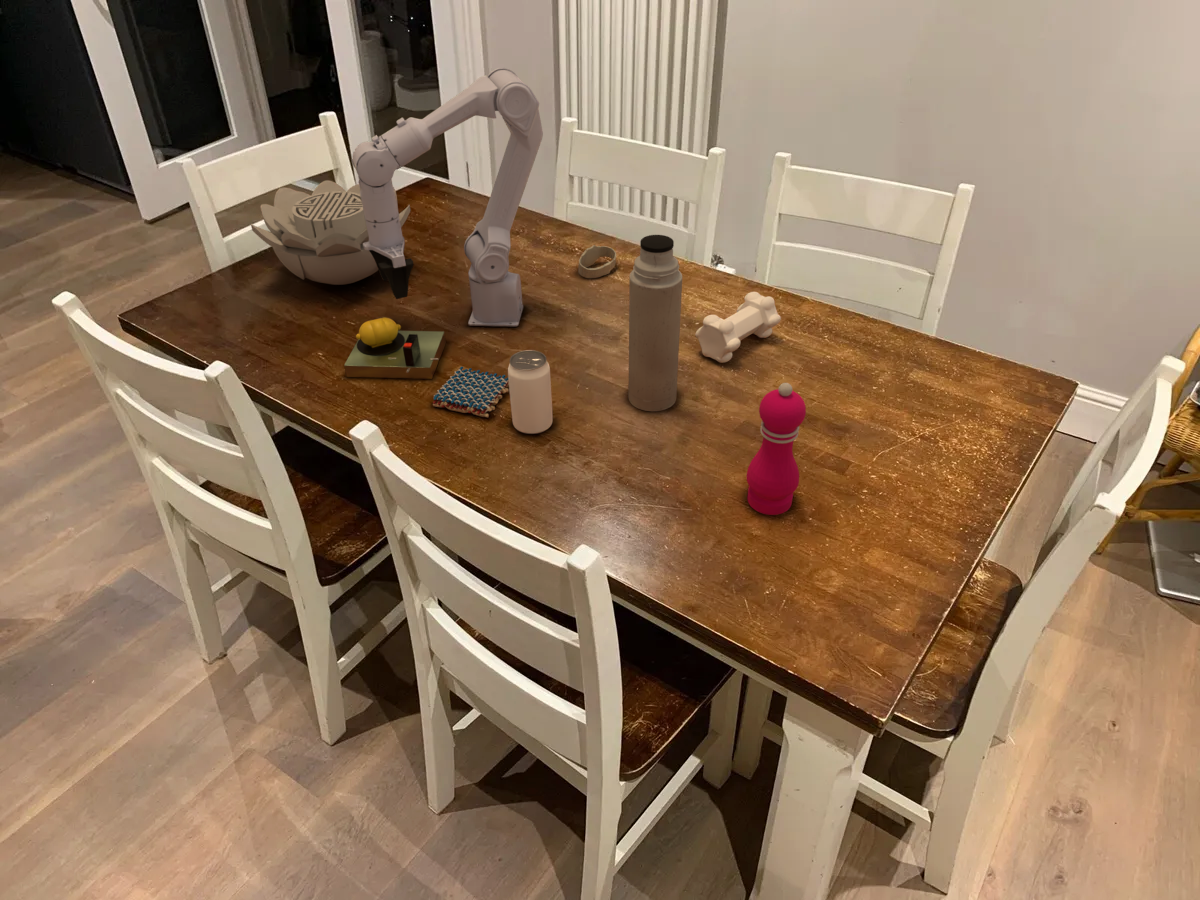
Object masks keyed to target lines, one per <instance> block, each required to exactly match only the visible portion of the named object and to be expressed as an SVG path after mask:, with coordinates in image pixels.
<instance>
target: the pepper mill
mask: <svg viewBox="0 0 1200 900" xmlns="http://www.w3.org/2000/svg"><path fill="white" fill-rule="evenodd" d="M806 410H807V407H806V403H805V400H804V399H803V398H802V396H801V395H800V394H798V393H797V392H796V391H794V390H793V386H792V384H790V383H789V382H782V383H781V384H780V385H778V388H776V389H773V390H770V391H769V392H767V393H766V394H765V395H764V396H763V397H762V399H761V401H760V403H759V408H758V414H759V418H760V419H761V422H760V429H759V431H760V435H761V436H762V442H761V445H760V448H759V449H758V450H757V452H756V454H755V455H754V456H753V457H752V459H751V461H750V463H749V465H748V467H747V471H746V482H747V485H748V489H747V496H746V497H747V503H748V504H749V506H750V507H751V508H752V509H753V510H754V511H756V512H758V513H760V514H763V515H766V516H767V515H768V516H777V515H781V514H784V513H786V512H787V511H788V510H790V509H791V507H792V504H793V499H794V498H793V497H794V492H796V491H797V489H798V487H799V485H800V470H799V466H798V464H797V461H796V459H795V457H794V453H793V447H794V442H795V441H796V440H797V438H798V436H799V431H800V425H802V424H803V422H804V420H805V417H806V415H807V414H806V413H807V411H806Z"/></svg>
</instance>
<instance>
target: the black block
mask: <svg viewBox="0 0 1200 900" xmlns="http://www.w3.org/2000/svg"><path fill="white" fill-rule="evenodd" d="M403 352H404V358H405V363H406V366H414V365H415V363H416V361H417V358H418V356H419V354H420V347H419V341H418V335H417V334H409V336H408V338H407V340H406V342H405V344H404V346H403Z"/></svg>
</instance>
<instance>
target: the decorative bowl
mask: <svg viewBox="0 0 1200 900" xmlns="http://www.w3.org/2000/svg"><path fill="white" fill-rule="evenodd" d="M395 195H396V200H397V201H398V197H397V191H396V190H395ZM398 205H399V204H398V202H397V206H398ZM398 207H399V206H398ZM260 211H261V215H262V218H263V221H264V224H265V226H266V228H267V229H268V230H267V229H264V228H261V227H258V226H256V225H254V224H253V223H250V228H251V231H252V232H253V233H254V234H255V235H256V236H257V237H259V239H261V240H262V241H263V242H264V243H266V244H268V245H269V247H271V248H272V249H273V252H274V254H275V256H276V257H277V259H278V260H279V261H280V262H281V263H282V264H283V266H284V267H285V268H286V269H287V270H288V271H289V272H290V273H292V274H293V275H295V276H296V277H298V278H299V279H301V280H305V279H307V280H310V281H312V282H316V283H321V284H327V285H333V286H334V285H335V286H337V285H338V286H340V285H341V286H342V285H349V284H353V283H356V282H359V281H361V280H365V279H366V278H368V277H370V276H372V275H373V274H375V273H377V272H379V270H378V267H377V264H376V262H375V260H374V258H373V256H372V254H371V253H370V251H369V250H365V249H364V247H363V243H365V242H368V241H369V237H368V231H367V226H366V221H365V216H364V211H363V206H362V201H361V196H360V187H359V183H358V184H354V185H352V186H351V187H349V188H348V189H347V190H345V188H344V187H342V186H341V185H340V184H339V183H337V182H334V181H332V180H328V179H326V180H323V181H321V182H320V183H319V184H318V185H316V187H315V188H314V189H313V191H312V194H311V195H310V194H309V193H307V192H303V191H300V190H299V191H298V190H295V189H293V188H290V187H280V188H279V189H277V191H276V192H275V195H274V199H273V205H271V204H267V203H262V204H260ZM410 213H411V206H410V203H409V204H408V205H407V207H406V208H404V210H402V211H401V212H400V213H399V218H400V224H401V228H402V227H403V226H404V224H405V223H406V221H407V219H408V217H409V215H410Z"/></svg>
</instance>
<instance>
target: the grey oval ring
mask: <svg viewBox="0 0 1200 900" xmlns="http://www.w3.org/2000/svg"><path fill="white" fill-rule="evenodd" d="M600 258H610V259H611V260H610V261H609V262H605V263H604V264H603V265H601V266H598V267H594V268H593V267H592V268H591V266H593V265H595V263H596V262H597V260H599V259H600ZM616 260H617V252H616V250H615V249H614V248H612V247H610V246H608V245H601V246H600V245H595V244H593V245H592V246H589V247H587V248H586V249H585V250H584V251H583V252H582V253H581V254H580V257H579V259H578V271H577V272H578V275H580V276H581V277H582V278H586V279H596V278H600V277H603V276H606V275H608V274H610V273H611V270H613V269H614V268H615V266H616V262H617V261H616Z"/></svg>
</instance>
